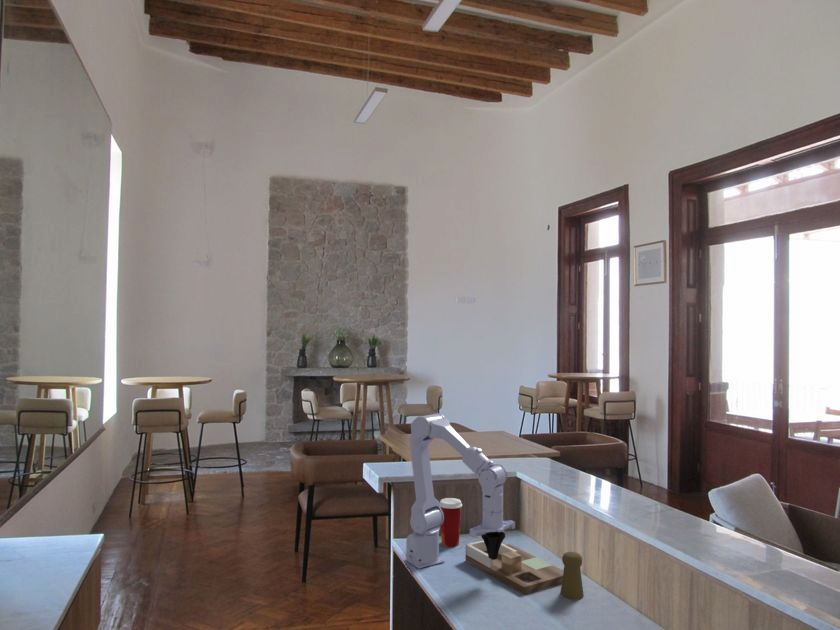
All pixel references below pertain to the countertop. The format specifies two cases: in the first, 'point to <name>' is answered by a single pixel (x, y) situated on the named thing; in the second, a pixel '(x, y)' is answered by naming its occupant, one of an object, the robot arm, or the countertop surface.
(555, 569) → the board
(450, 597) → the countertop surface
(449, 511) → the paper cup
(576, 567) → the cork
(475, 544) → the cubby
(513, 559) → the block
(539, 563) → the pad
